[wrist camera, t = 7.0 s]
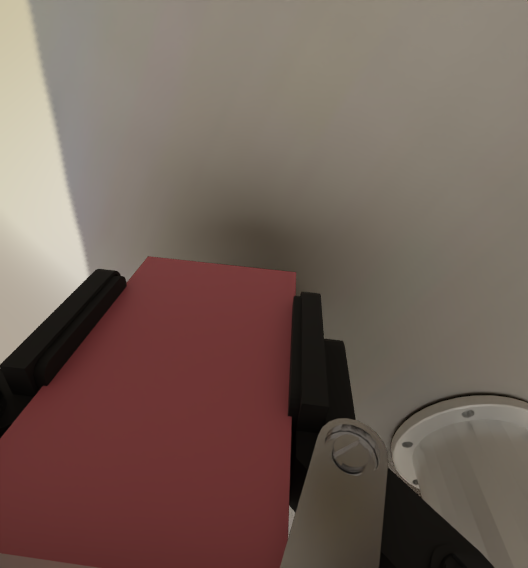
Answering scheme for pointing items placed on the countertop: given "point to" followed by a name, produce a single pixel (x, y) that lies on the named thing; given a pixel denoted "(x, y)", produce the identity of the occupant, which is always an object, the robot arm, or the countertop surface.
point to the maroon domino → (162, 429)
